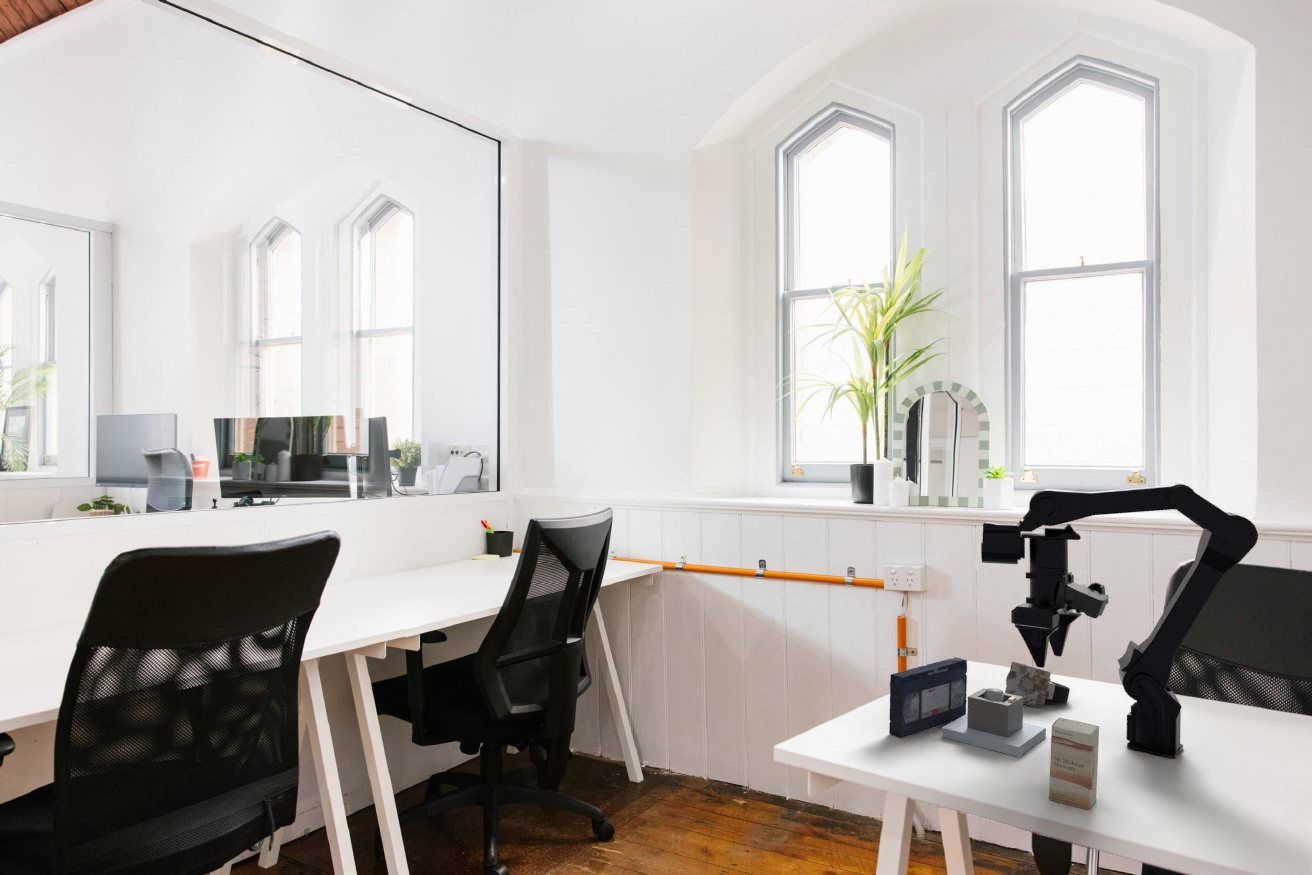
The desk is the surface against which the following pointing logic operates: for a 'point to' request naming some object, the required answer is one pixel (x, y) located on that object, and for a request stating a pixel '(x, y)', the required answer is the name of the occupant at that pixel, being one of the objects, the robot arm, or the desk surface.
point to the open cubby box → (995, 714)
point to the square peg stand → (1010, 745)
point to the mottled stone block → (1034, 685)
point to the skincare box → (1074, 763)
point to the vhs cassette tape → (927, 697)
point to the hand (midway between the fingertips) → (1049, 661)
